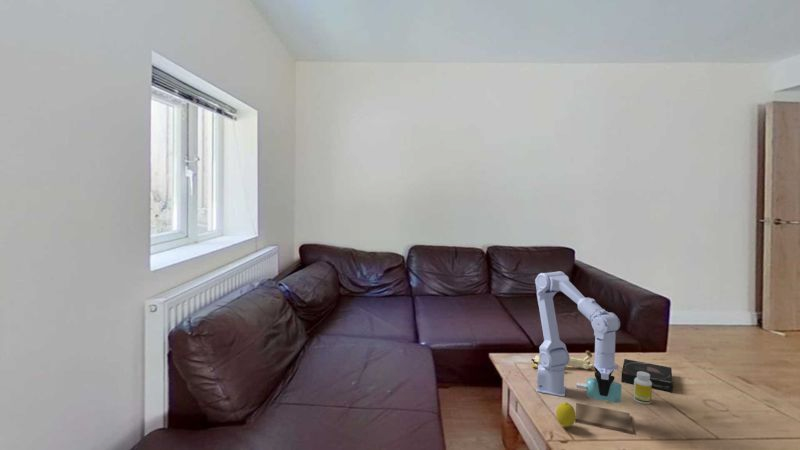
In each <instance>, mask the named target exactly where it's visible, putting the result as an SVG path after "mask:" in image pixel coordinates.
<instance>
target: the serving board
mask: <svg viewBox="0 0 800 450" xmlns="http://www.w3.org/2000/svg"><path fill="white" fill-rule="evenodd" d="M630 414H631V413H629V412H625V411H621V410H614V409H611V408H604V407H601V406H594V405H589V404H584V403H578V402H576V404H575V422H574V423H581V424H584V425H589V426H593V427H599V428H603V429H607V430H612V431H617V432H623V433H626V434H630V435H633V434H634V433H633V431H634V430H633V426H632V420H631V415H630Z"/></svg>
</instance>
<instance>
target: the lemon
mask: <svg viewBox="0 0 800 450" xmlns="http://www.w3.org/2000/svg"><path fill="white" fill-rule="evenodd" d="M555 414H556V415H555V416H556V420H557V422H558V424H560V425H561V426H563V428H566V429H567V428H568V427H571V426H573V425H574V424H575V423H576V422H575V415H576V410H575V409H574V407H573V405H572V404H570V403H568V402H566V401H565V402H561V403H560V404H559V405H557V408H556V413H555Z"/></svg>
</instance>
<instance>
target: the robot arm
mask: <svg viewBox="0 0 800 450" xmlns="http://www.w3.org/2000/svg"><path fill="white" fill-rule="evenodd" d="M534 283H535V288H536V298H537V304H538V308H539V309H538V310H539V311H538V312H539V317H540V322H541V327H542V328H541V330H542V334H543V335H542V336H543V342H542V343H541V345H540V346H539V347H538V348H539V349H538V350H539V354H538V355H539V360H540V363H541V364H542V365H541V364H539V365H538V367H537V374H536V375H537V376H536V377H537V379H536V392H538V393H544V394H548V395H553V396H554V395H555V396H558V397H559V396H560V397H563V398H564V397H565V395H566V386H565V368H567V365H566V364H568V363H569V360H570V354H569V351H568V350H567V346H566V344H565V343H564V342H563V341H562V340H561V339H560V333H559V327H558V321H557V315H556V309H555V305H554V304H555V303H554V296H555V295H556V294H557V293H558V292H561V293H563V294H564V295H565V296H566V297H568V298H569V299H570V300H571V301H573V303H575V304H576V305H577V310H578V312H580V313H581V314H582V315H583V317H585V318H586V319H587V320H588V321H589V322H590V325H591V326H592V329H593V332H594V333H593V336H594V337H595V339H594V362H593V364H594V378H595V379H596V380H597V382H598V387H599V393H600V395H601V396H608V393H609V389H610V386H611V384H612V382H615V375H612V374H613V373H614V371H616V370H617V371H618V370H619V365H616V364H615V360H616V359H615V358H616V331H618V330H619V329H620V328H621V321H620V318H618V315H616V314H615V313H614V312H608V311H606V310H605V308H602V307H601V306H600V304H598V303H597V302H596V299H594V298H591V297H585V296H584V295H583V294H582V293H581V292H580V290H579V289H577V287H576V286H575V285H573V283H572V282H571V281H570V277H569V276H568V275H566V273H565V272H563V271H559V270H558V271H553V272H552V271H550V272H540V273H538V275H536V278H535V279H534Z"/></svg>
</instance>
